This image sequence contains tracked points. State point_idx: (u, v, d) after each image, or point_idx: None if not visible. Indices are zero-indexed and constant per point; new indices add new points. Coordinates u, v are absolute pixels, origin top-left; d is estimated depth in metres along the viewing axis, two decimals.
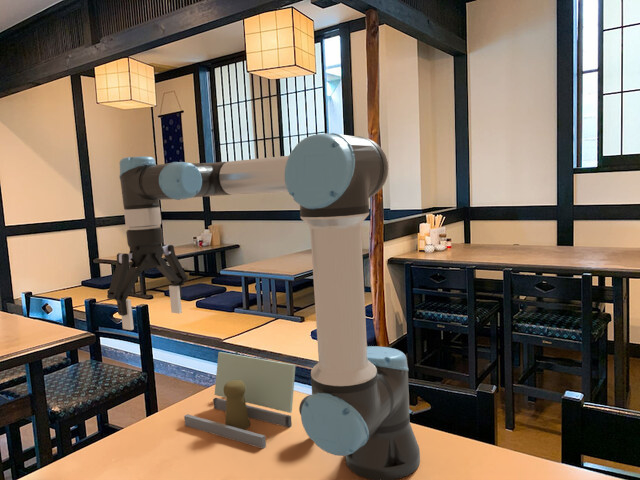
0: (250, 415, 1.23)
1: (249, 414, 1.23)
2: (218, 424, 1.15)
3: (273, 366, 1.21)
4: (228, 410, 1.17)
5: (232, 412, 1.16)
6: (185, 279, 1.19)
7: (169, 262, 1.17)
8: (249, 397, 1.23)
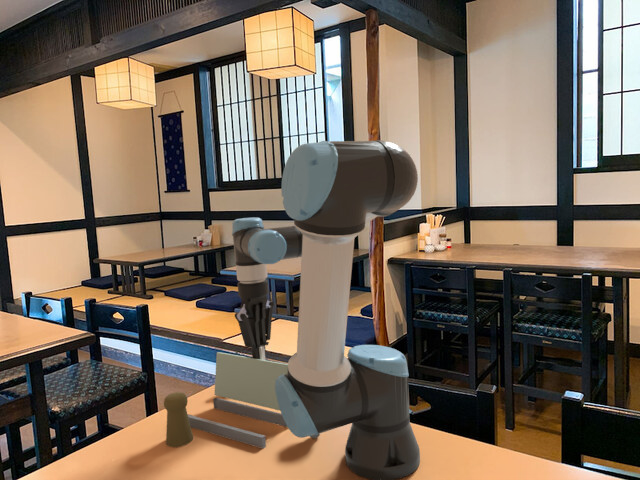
0: (250, 415, 1.23)
1: (249, 414, 1.23)
2: (218, 424, 1.15)
3: (271, 366, 1.20)
4: (168, 424, 1.12)
5: (172, 427, 1.11)
6: (268, 338, 1.27)
7: None
8: (249, 397, 1.23)
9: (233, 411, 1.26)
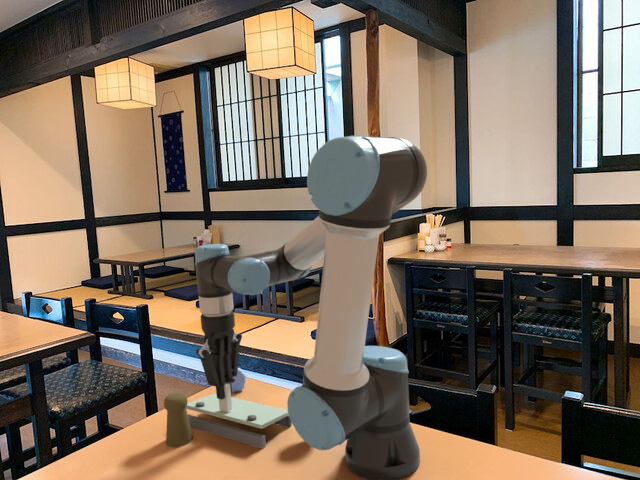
0: None
1: None
2: (218, 424, 1.15)
3: None
4: (168, 424, 1.12)
5: (172, 427, 1.11)
6: (235, 374, 1.17)
7: None
8: None
9: None
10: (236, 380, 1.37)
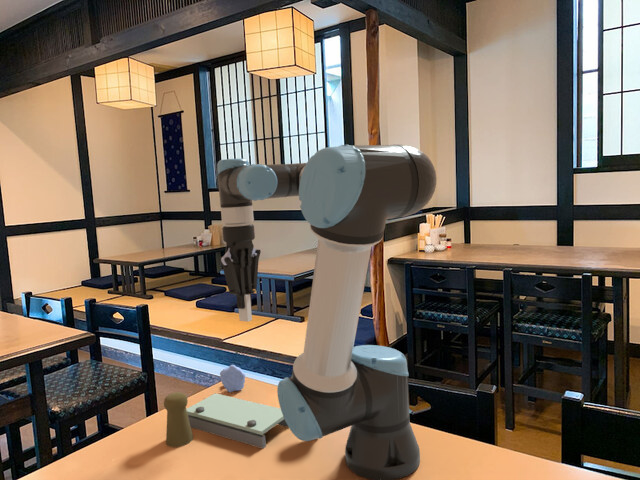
0: None
1: None
2: (218, 424, 1.15)
3: None
4: (168, 424, 1.12)
5: (172, 427, 1.11)
6: (254, 287, 1.22)
7: None
8: None
9: None
10: (235, 379, 1.38)
